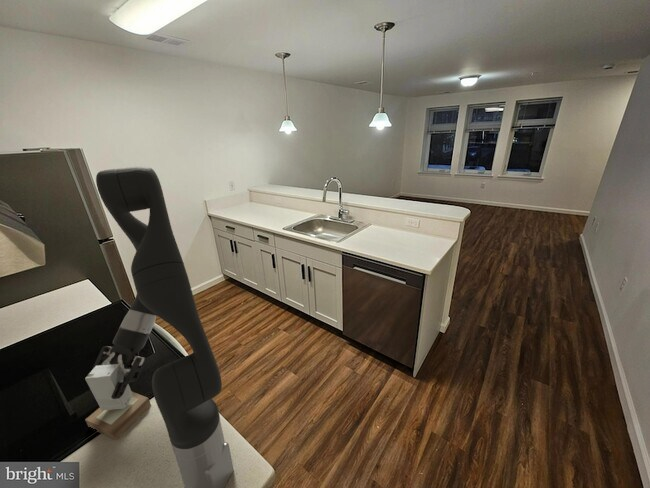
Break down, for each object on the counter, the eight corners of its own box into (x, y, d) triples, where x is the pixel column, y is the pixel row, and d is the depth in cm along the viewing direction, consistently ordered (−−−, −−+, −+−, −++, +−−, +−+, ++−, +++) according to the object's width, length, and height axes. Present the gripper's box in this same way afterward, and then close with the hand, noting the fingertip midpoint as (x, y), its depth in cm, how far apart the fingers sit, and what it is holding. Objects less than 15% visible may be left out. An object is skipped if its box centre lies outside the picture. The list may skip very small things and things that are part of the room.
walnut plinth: (150, 405, 76) (148, 397, 75) (115, 440, 68) (112, 431, 67) (125, 395, 79) (122, 387, 78) (88, 427, 71) (85, 419, 69)
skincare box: (134, 395, 74) (121, 362, 70) (124, 410, 70) (110, 376, 66) (110, 397, 74) (96, 363, 69) (99, 412, 70) (84, 378, 65)
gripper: (105, 321, 73) (70, 387, 67) (144, 332, 69) (111, 404, 63) (128, 325, 80) (99, 385, 74) (165, 335, 76) (137, 400, 70)
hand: (105, 393), depth 69 cm, fingers closed on skincare box, 7 cm apart
